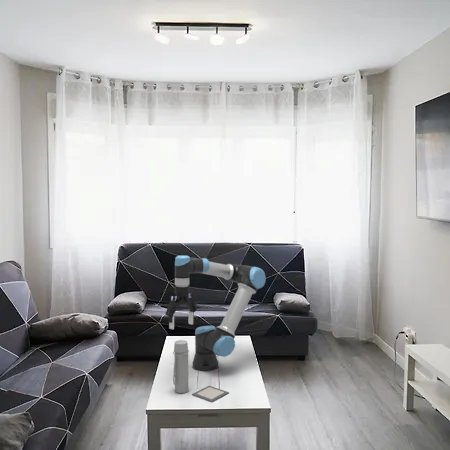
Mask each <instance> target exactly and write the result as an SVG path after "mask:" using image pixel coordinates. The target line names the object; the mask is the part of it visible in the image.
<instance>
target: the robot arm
mask: <svg viewBox="0 0 450 450" xmlns="http://www.w3.org/2000/svg"><path fill="white" fill-rule="evenodd" d="M190 274H202V275H209V276H213V277H218V278H219V277H220V278H223V279H224V280H226V281H230V282H233V283H236V284H237V286H238V289H237V290H236V292H235V294H234V297H233V299H232V301H231V303H230V305H229V306H228V308H227V311H226V313H225V315H224V317H223V320H222V321H221V323H220V325H218V326H214V325H202V326H199V327H197V328H196V329H195V332H194V335H195V338H194V339H195V341H194V342H195V343H194V344H195V349H194V350H195V352H194V353H195V354H194V356H193V361H192V362H191V363H192V365H191V366H192V368H193V369H195V370H197V371H204V372H207V371H209V372H210V371H213V370H216V369H218V368H219V360H218V358H217V357H224V358H225V357H227V356H229V355H230V356H231V354H233V351H235V348H236V340H235V337H236V334H235V331H236V330H237V328H238V325H239V323H240V321H241V320H242V317H243V314H244V313H245V310H246V308H247V306H248V304H249V302H250V300H251V298H252V295H255V294H256V293H257V291H258V290H259V289H262V288H263V287H264V286H265V284H266V281H267V280H266V277H267V276H266V273H265V271H264V270H263V269H262V268H260V267H257V266H251V265H246V264H232V263H227V264H224V263H220V262H215V261H214V262H213V261H209V259H208V258H206V257H202V258H201V257H200V258H197V257H190V256H189V255H176V256H175V261H174V285H175V286H174V294H175V296H172V295H171V296H170V299H169V303H168V306H167V308H166V311H165V314H164V315H165V316H168V323H169V324H168V329H170V330H174V329H175V316H174V315H175V313H176V311H177V309H178V308H179V306H181V305H184V304H185V305H186V307H187V309H188V320H187V321H188V324H189V325H194V318H195V312H196V311H197V310H198V307H197V305H196V302H195V299H194V294H193V293H192V292H191V293H190Z"/></svg>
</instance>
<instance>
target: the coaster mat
mask: <svg viewBox="0 0 450 450" xmlns="http://www.w3.org/2000/svg"><path fill="white" fill-rule="evenodd" d="M228 394H230V392H229V391H226V390H223V389H221V388H218V387H214V386H211V385H207V386H205V387H203V388H201V389H199V390H197V391H196V392H193V393H191V395H192V396H193V397H195V398H199V399H202V400H204V401H206V402H210V403H214V402H216V401H218V400H220V399H221V398H223V397H225V396H227V395H228Z"/></svg>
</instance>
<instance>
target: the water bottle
mask: <svg viewBox="0 0 450 450" xmlns="http://www.w3.org/2000/svg"><path fill="white" fill-rule="evenodd" d="M188 344H189V343H188V341H187V340H185V339H180V340H176V341H174V345H173V346H174V348H173V352H172V353H173V355H174V363H173V365H174V366H173V378H172V379H173V380H172V382H173V383H172V384H173V385H174V392H175V393H178V394H185V393H187V392H189V353H190V351H189V346H188Z"/></svg>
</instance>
